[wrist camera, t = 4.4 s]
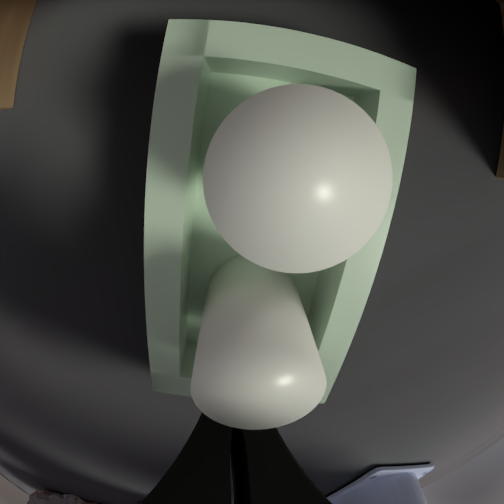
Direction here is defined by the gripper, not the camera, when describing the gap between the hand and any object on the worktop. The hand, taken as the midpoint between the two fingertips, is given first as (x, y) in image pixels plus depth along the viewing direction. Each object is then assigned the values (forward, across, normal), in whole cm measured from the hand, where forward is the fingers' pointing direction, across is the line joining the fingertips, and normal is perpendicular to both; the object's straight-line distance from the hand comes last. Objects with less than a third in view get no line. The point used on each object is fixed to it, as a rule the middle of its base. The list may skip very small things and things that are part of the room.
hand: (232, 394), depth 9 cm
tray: (+1, 0, -6) cm, 6 cm away
